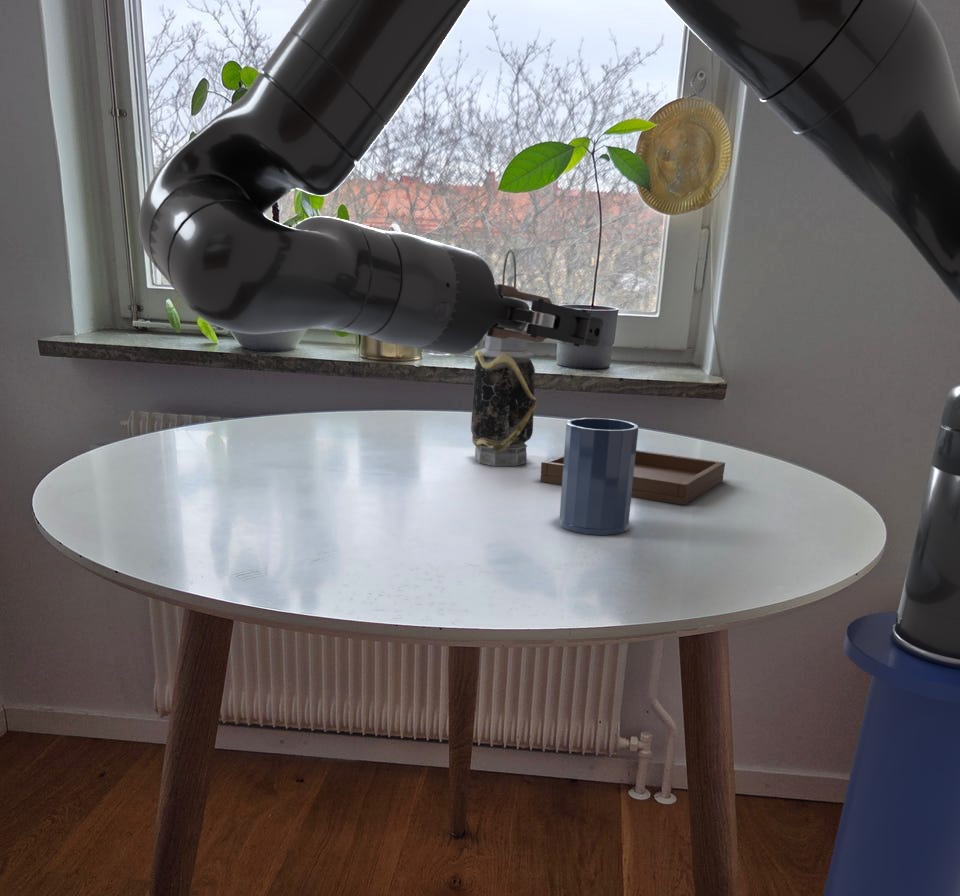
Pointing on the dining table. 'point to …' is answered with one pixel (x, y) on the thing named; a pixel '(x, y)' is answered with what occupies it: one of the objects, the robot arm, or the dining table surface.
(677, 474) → the tray
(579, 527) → the cup
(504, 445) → the lantern
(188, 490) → the dining table surface
